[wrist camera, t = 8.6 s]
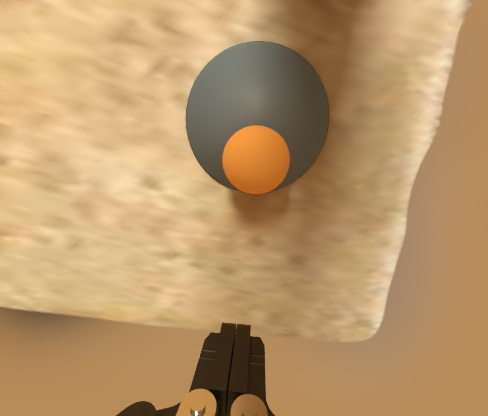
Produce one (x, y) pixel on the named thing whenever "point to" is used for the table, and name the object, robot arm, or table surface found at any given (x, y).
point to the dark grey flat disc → (257, 105)
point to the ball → (256, 159)
